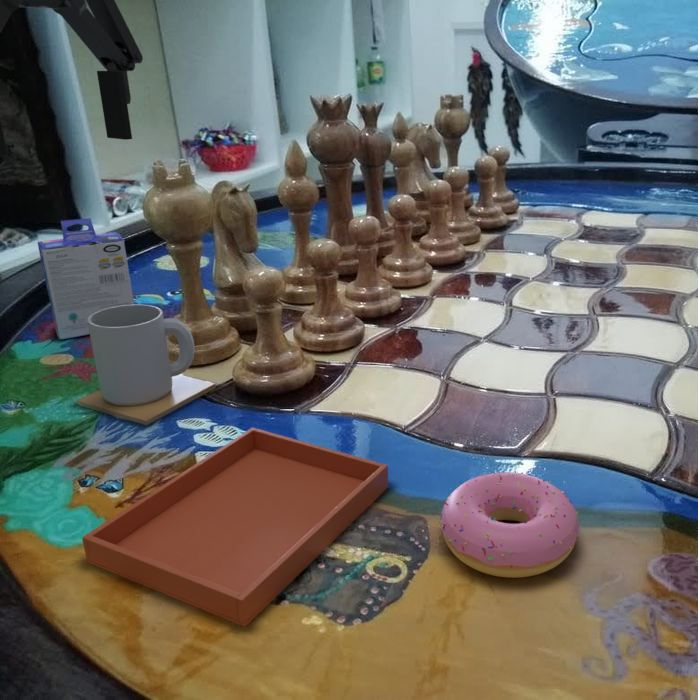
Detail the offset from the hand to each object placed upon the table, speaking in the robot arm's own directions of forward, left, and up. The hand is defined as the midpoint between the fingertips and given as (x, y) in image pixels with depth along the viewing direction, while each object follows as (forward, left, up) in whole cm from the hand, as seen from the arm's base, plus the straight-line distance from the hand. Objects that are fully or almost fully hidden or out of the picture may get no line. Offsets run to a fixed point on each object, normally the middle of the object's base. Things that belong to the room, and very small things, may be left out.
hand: (61, 145), depth 70 cm
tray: (+29, -11, -27) cm, 41 cm away
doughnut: (+49, -4, -27) cm, 56 cm away
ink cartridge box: (-18, +14, -27) cm, 35 cm away
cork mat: (+4, +2, -27) cm, 27 cm away
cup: (+4, +2, -26) cm, 27 cm away
